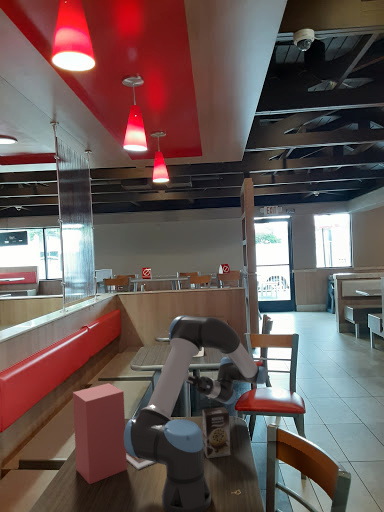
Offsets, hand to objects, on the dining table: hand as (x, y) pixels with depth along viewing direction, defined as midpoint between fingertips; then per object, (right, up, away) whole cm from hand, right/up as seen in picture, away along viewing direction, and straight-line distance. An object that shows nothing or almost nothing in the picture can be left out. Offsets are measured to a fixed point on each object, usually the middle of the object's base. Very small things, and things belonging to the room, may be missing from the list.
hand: (171, 371), depth 162 cm
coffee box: (+18, -28, -11) cm, 35 cm away
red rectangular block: (-24, -30, -19) cm, 43 cm away
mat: (-5, -29, -5) cm, 30 cm away
